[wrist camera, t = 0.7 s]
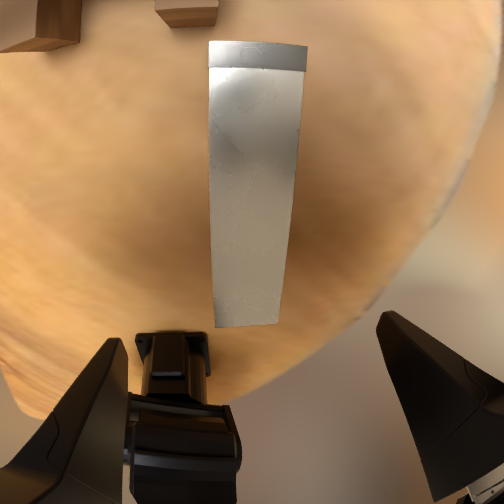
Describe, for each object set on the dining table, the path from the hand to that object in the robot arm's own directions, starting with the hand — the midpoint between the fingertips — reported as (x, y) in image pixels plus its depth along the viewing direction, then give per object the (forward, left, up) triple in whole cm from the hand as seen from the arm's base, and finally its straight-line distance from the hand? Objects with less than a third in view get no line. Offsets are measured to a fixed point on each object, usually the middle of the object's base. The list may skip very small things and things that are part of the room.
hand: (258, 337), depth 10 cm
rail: (+1, -1, -12) cm, 12 cm away
